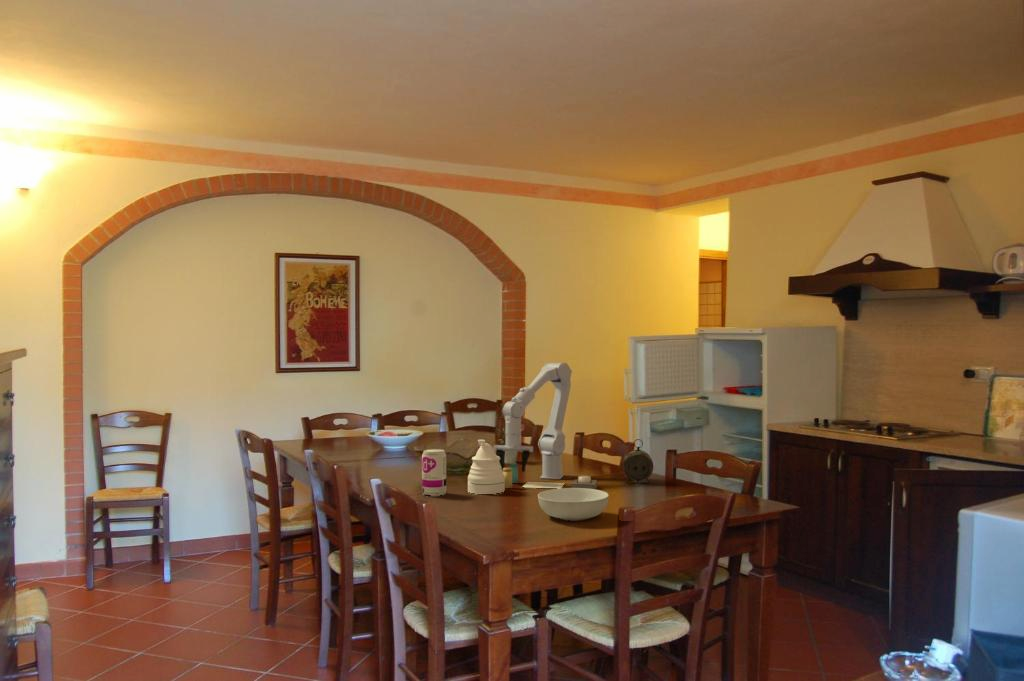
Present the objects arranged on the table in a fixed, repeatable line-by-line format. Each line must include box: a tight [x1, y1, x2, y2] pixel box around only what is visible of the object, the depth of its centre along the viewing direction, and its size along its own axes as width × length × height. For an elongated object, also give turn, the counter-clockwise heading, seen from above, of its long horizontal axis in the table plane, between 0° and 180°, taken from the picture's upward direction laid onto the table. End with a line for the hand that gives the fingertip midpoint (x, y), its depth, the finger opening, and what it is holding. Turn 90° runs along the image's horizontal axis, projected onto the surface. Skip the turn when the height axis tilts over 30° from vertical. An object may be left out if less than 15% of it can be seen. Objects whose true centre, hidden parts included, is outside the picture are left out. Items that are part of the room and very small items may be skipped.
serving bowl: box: [537, 487, 610, 522], centre depth 221 cm, size 21×21×7 cm
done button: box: [577, 475, 592, 483], centre depth 264 cm, size 4×4×3 cm
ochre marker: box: [503, 467, 513, 489], centre depth 266 cm, size 3×3×7 cm
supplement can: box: [421, 448, 447, 497], centre depth 255 cm, size 8×8×15 cm
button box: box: [571, 479, 598, 490], centre depth 264 cm, size 8×8×2 cm
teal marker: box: [508, 462, 519, 484], centre depth 276 cm, size 3×3×7 cm
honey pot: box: [467, 439, 506, 495], centre depth 261 cm, size 13×13×18 cm
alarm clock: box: [622, 438, 654, 485], centre depth 274 cm, size 11×5×16 cm, turn 84°
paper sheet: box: [521, 481, 566, 489], centre depth 269 cm, size 10×14×1 cm
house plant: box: [495, 426, 524, 464], centre depth 324 cm, size 14×14×16 cm
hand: (513, 471), depth 276 cm, fingers open, 7 cm apart
